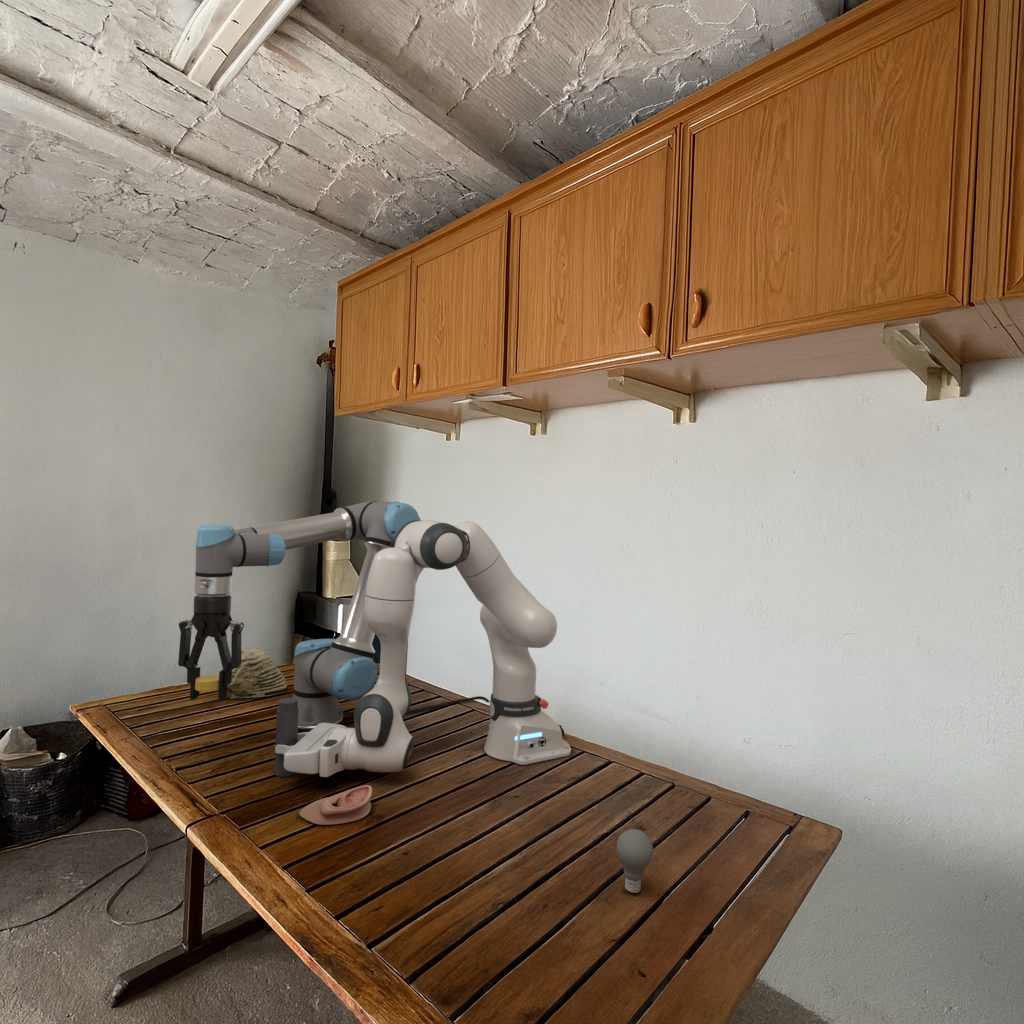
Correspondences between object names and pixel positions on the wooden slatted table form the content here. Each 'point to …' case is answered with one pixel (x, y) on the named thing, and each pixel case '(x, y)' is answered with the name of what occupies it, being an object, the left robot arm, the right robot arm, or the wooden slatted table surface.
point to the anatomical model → (339, 807)
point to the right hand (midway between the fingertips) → (282, 742)
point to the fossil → (256, 676)
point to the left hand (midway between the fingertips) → (208, 698)
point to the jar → (286, 731)
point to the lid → (207, 683)
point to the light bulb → (634, 857)
